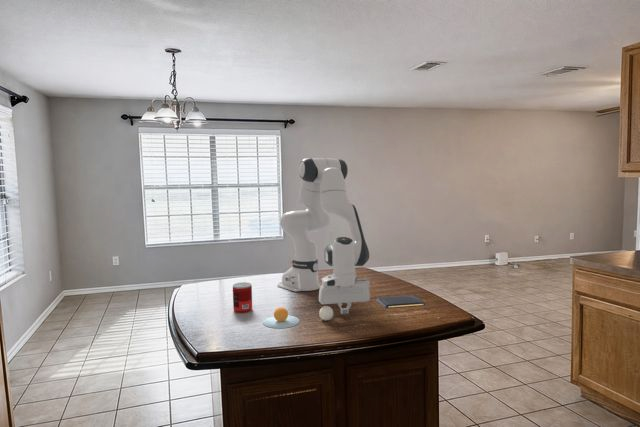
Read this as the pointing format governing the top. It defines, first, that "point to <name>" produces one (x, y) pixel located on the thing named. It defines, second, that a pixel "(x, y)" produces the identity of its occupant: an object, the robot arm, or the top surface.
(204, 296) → the top surface
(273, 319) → the light blue disc
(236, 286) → the canned food
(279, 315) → the orange ball
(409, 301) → the wallet
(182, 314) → the top surface
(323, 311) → the white ping pong ball
